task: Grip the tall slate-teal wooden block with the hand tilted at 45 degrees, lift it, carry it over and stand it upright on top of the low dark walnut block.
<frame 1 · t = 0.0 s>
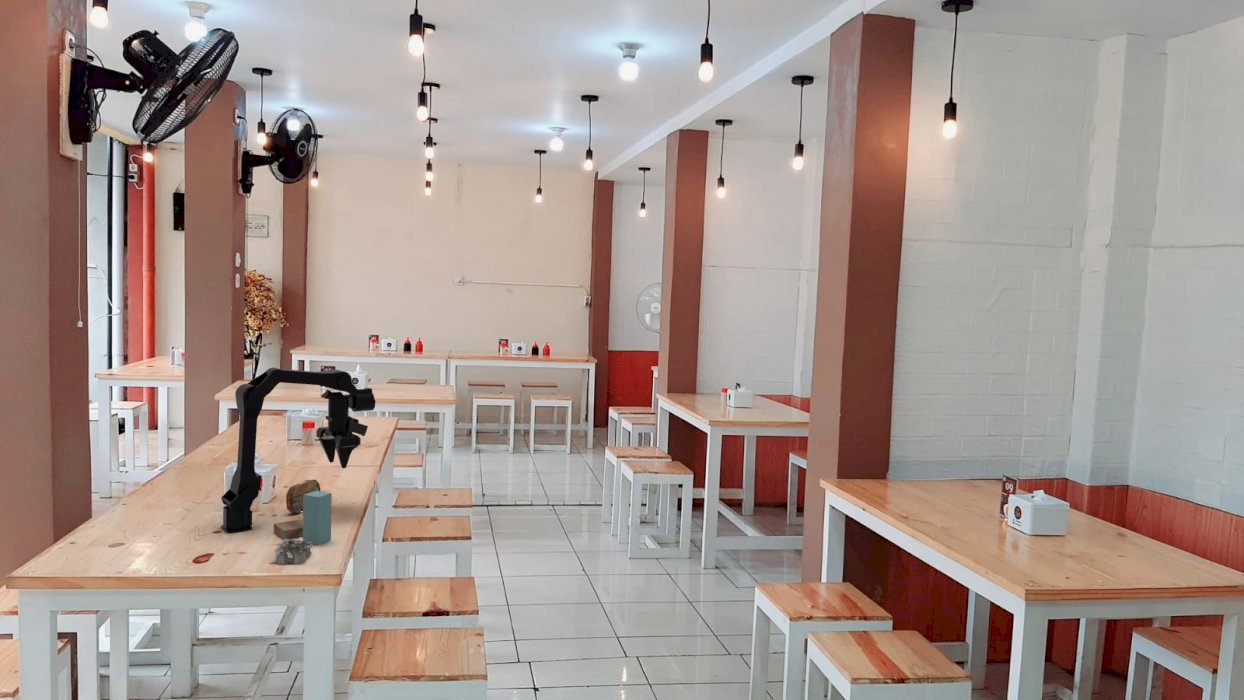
hand: (337, 465, 255), 15 cm above the table, tool pointing down, fingers open, 9 cm apart
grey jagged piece: (293, 559, 217), on the table
tin: (303, 510, 260), on the table
teal block: (316, 542, 230), on the table
walnut plinth: (293, 535, 236), on the table
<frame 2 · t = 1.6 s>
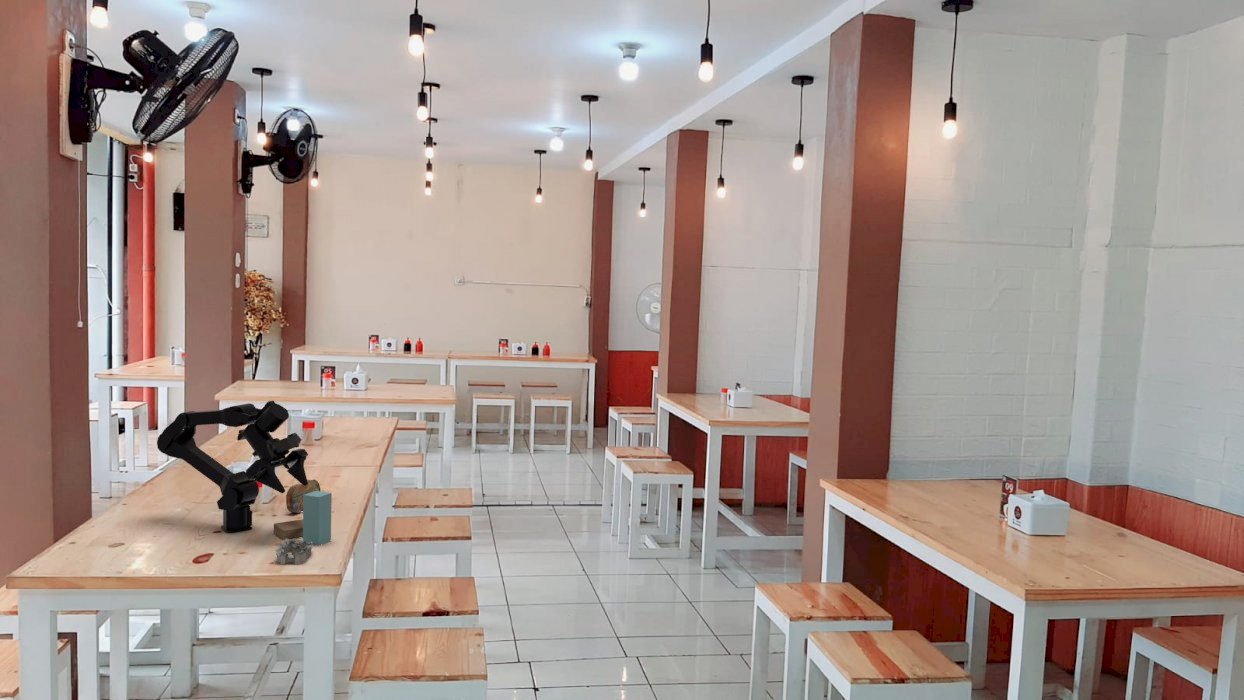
hand: (295, 488, 231), 13 cm above the table, tool tilted 45°, fingers open, 9 cm apart
nothing on the table moved.
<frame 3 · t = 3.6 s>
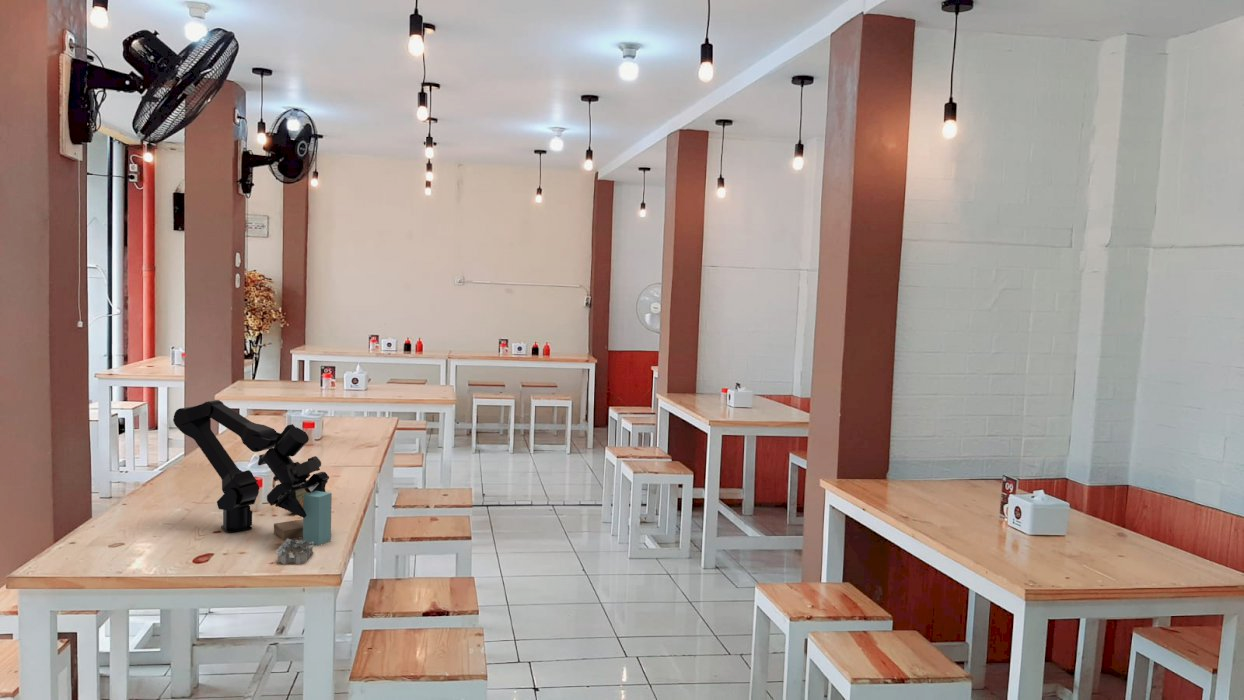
hand: (317, 512, 229), 8 cm above the table, tool tilted 45°, fingers open, 9 cm apart
nothing on the table moved.
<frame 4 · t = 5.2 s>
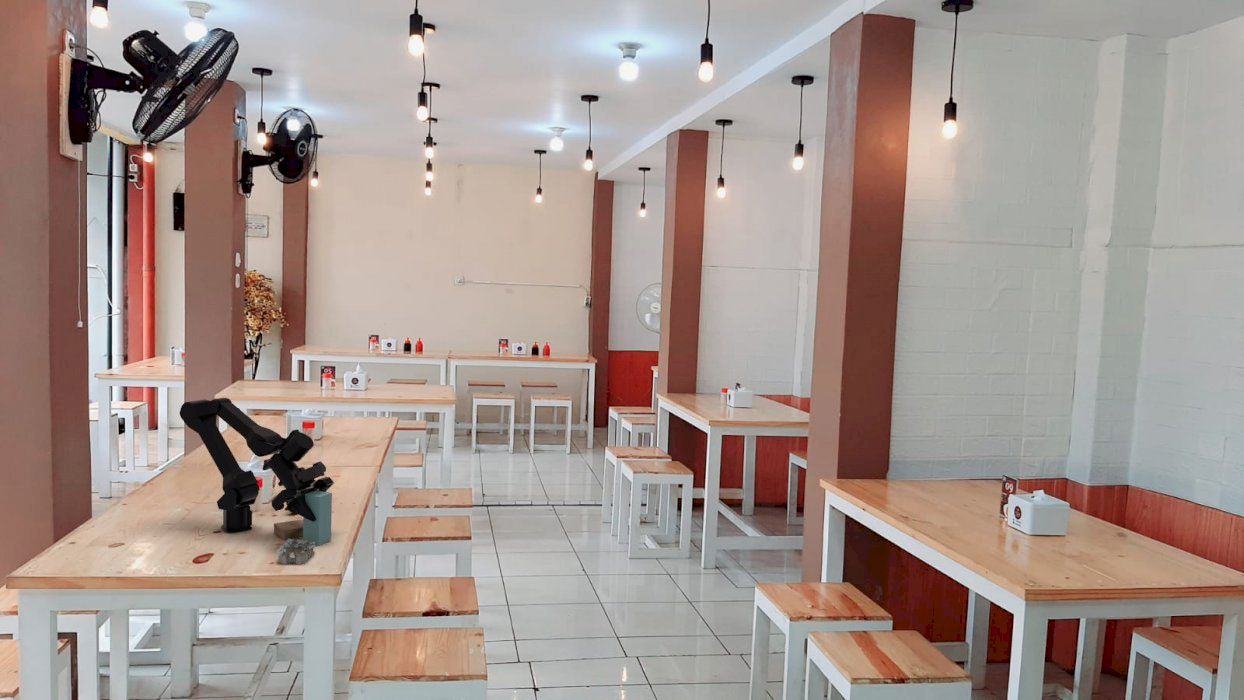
hand: (321, 518, 229), 7 cm above the table, tool tilted 45°, fingers closed on teal block, 5 cm apart
teal block: (316, 541, 230), on the table, touching gripper
everything else where it was.
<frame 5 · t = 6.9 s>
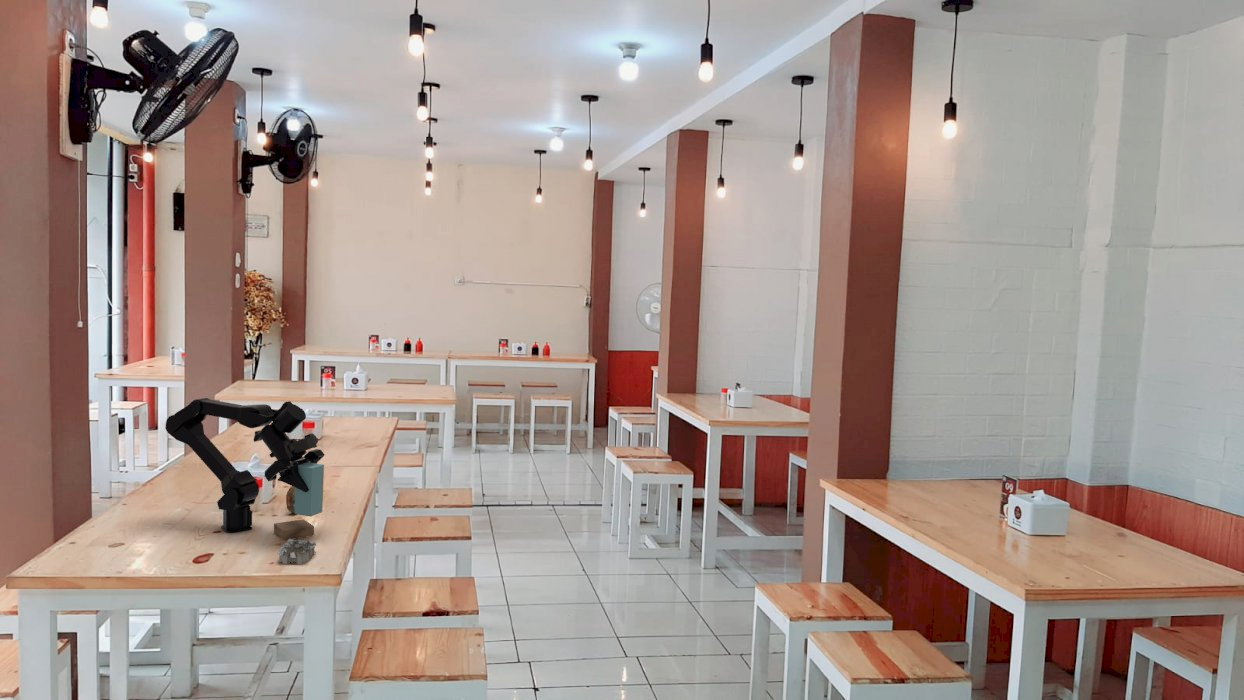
hand: (313, 489, 231), 14 cm above the table, tool tilted 45°, fingers closed on teal block, 5 cm apart
teal block: (308, 513, 232), point 7 cm above the table, touching gripper
everything else where it was.
when the fingers open (11 cm above the table, at t = 8.8 s): teal block drops 2 cm, resting on walnut plinth.
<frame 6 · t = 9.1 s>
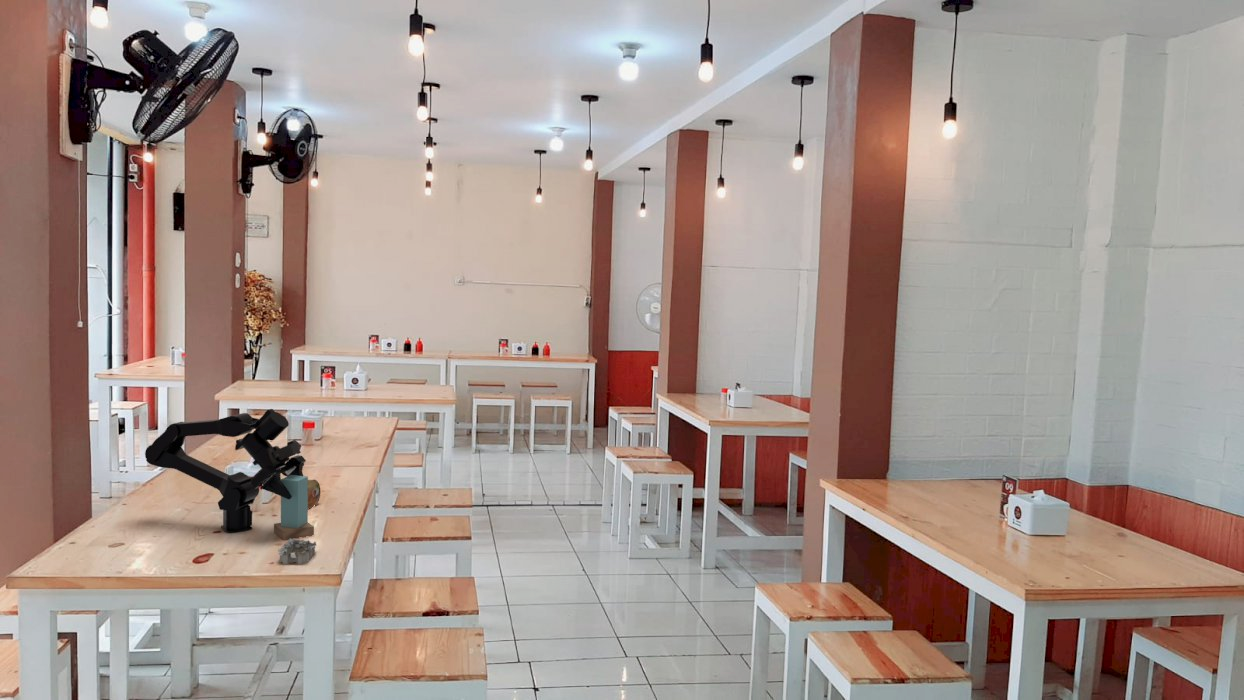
hand: (299, 494, 234), 11 cm above the table, tool tilted 45°, fingers open, 8 cm apart
teal block: (294, 524, 235), point 3 cm above the table, touching walnut plinth
walnut plinth: (293, 535, 236), on the table, touching teal block
everything else where it was.
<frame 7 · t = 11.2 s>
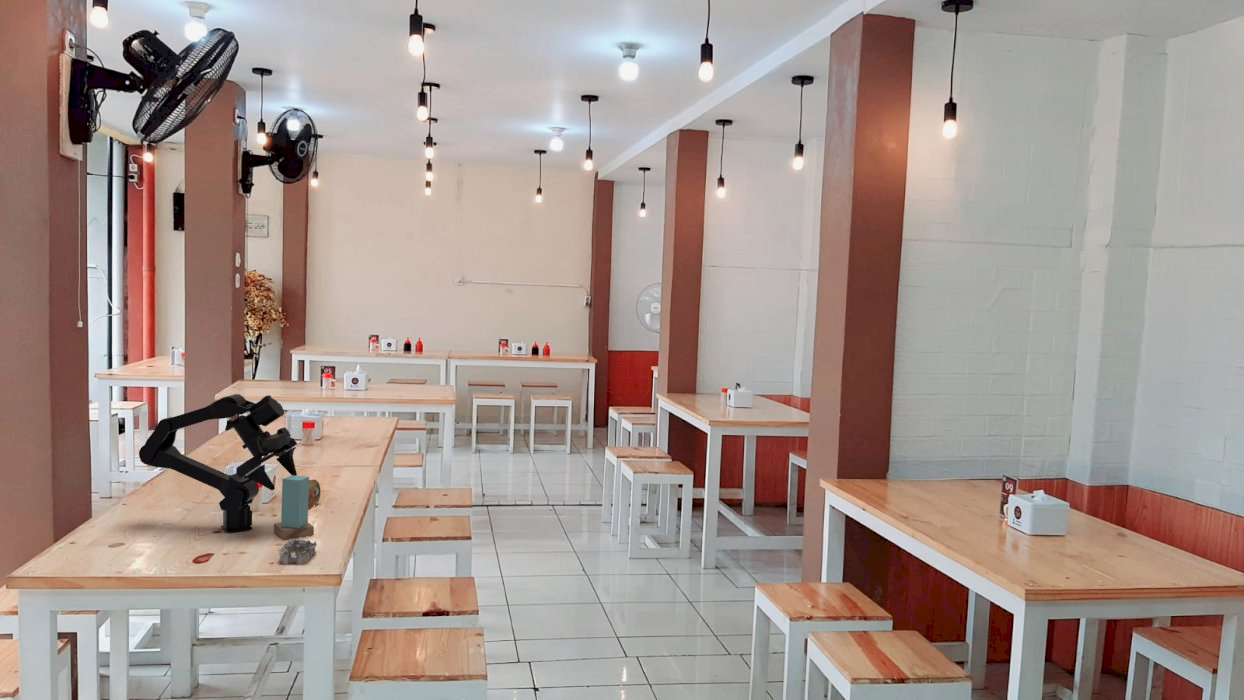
hand: (284, 482, 237), 13 cm above the table, tool tilted 35°, fingers open, 9 cm apart
teal block: (294, 525, 235), point 3 cm above the table
walnut plinth: (293, 535, 236), on the table
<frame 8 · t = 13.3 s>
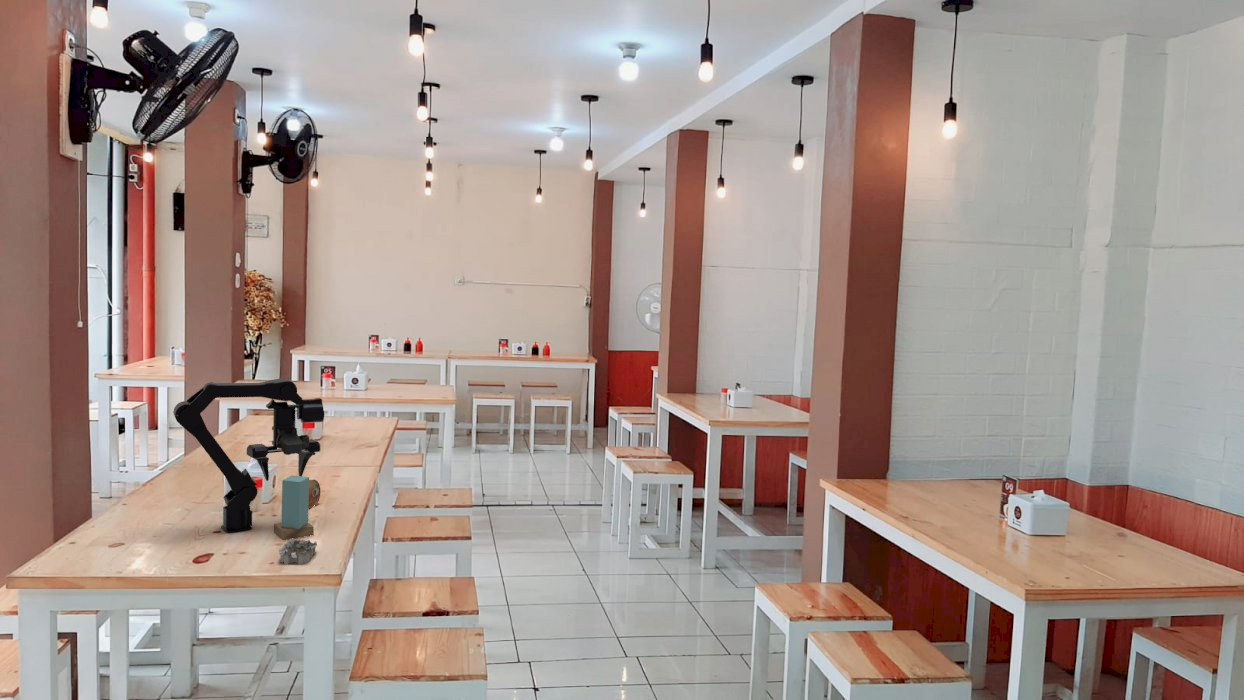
hand: (283, 478, 244), 13 cm above the table, tool pointing down, fingers open, 9 cm apart
at the end: teal block 0.7 cm off-centre on the walnut plinth, point 3.2 cm above the walnut plinth's base; teal block tilted 3°; the gripper is holding nothing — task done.
